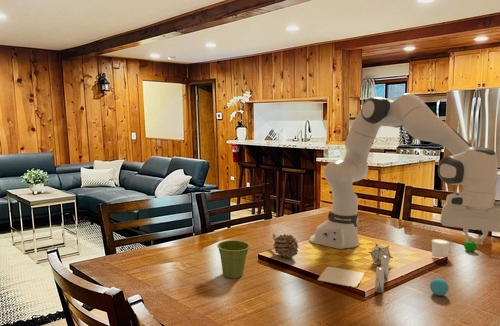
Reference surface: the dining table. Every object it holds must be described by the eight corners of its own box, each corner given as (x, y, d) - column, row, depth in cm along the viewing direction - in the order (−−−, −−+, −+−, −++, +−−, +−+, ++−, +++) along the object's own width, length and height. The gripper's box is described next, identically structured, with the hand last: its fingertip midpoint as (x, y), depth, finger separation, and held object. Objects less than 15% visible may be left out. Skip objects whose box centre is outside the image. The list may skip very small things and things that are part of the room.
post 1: (374, 292, 133) (375, 269, 132) (375, 289, 135) (376, 266, 134) (382, 293, 132) (383, 270, 131) (383, 290, 134) (384, 267, 133)
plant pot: (237, 284, 137) (238, 252, 136) (210, 276, 144) (210, 246, 142) (255, 273, 147) (255, 243, 146) (229, 266, 154) (229, 238, 152)
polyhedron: (471, 253, 171) (471, 243, 171) (461, 250, 176) (461, 239, 175) (479, 252, 173) (479, 241, 173) (468, 248, 178) (469, 238, 177)
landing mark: (317, 280, 142) (317, 279, 142) (327, 266, 154) (327, 266, 154) (357, 288, 136) (357, 287, 136) (364, 273, 148) (364, 273, 148)
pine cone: (304, 261, 159) (305, 237, 158) (283, 264, 156) (284, 240, 155) (280, 244, 180) (280, 223, 178) (260, 247, 176) (260, 225, 175)
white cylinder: (450, 261, 162) (452, 244, 161) (432, 259, 163) (433, 243, 163) (446, 255, 169) (447, 239, 168) (428, 254, 170) (429, 238, 169)
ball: (429, 296, 130) (430, 280, 129) (429, 289, 135) (430, 274, 134) (448, 300, 128) (449, 283, 127) (447, 293, 132) (449, 277, 132)
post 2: (379, 278, 144) (380, 257, 143) (380, 275, 146) (381, 254, 145) (387, 279, 143) (388, 258, 142) (388, 277, 145) (389, 255, 144)
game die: (380, 275, 156) (377, 260, 150) (366, 261, 162) (362, 246, 156) (398, 263, 157) (396, 248, 151) (383, 249, 164) (381, 234, 158)
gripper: (516, 201, 122) (511, 244, 123) (442, 194, 130) (439, 235, 132) (519, 205, 116) (515, 251, 118) (442, 198, 125) (439, 240, 127)
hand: (474, 242), depth 125 cm, fingers closed
